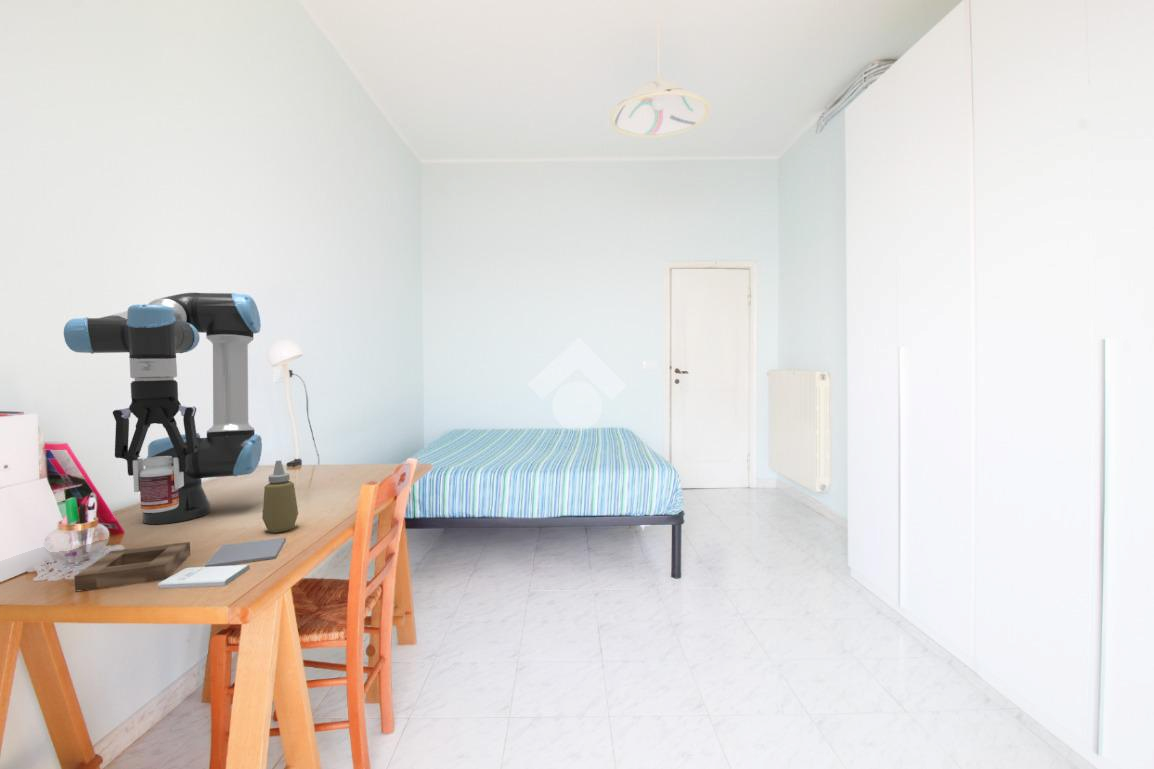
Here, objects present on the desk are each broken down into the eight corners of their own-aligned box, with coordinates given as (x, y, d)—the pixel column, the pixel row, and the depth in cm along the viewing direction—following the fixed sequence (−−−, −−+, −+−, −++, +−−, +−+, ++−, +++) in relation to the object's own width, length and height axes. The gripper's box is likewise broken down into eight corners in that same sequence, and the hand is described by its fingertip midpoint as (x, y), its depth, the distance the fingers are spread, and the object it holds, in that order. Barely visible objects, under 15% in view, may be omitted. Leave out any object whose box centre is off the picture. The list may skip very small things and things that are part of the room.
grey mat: (222, 547, 118) (222, 545, 118) (285, 539, 122) (285, 537, 122) (204, 568, 105) (204, 565, 105) (275, 558, 110) (275, 555, 110)
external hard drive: (224, 588, 97) (157, 591, 96) (249, 571, 105) (188, 573, 104) (224, 580, 97) (157, 583, 96) (249, 563, 105) (187, 566, 104)
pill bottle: (180, 509, 106) (177, 457, 105) (141, 515, 101) (138, 461, 101) (177, 503, 110) (175, 454, 110) (140, 509, 106) (138, 457, 106)
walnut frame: (111, 564, 108) (111, 551, 108) (190, 554, 113) (189, 541, 113) (75, 591, 95) (74, 576, 95) (165, 579, 100) (165, 564, 100)
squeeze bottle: (306, 525, 133) (303, 458, 132) (280, 535, 125) (277, 464, 125) (281, 523, 135) (279, 457, 135) (255, 533, 127) (252, 463, 127)
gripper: (85, 381, 98) (91, 497, 99) (202, 378, 104) (207, 488, 105) (106, 380, 105) (112, 489, 106) (214, 378, 111) (219, 480, 112)
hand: (159, 488), depth 106 cm, fingers closed on pill bottle, 6 cm apart
